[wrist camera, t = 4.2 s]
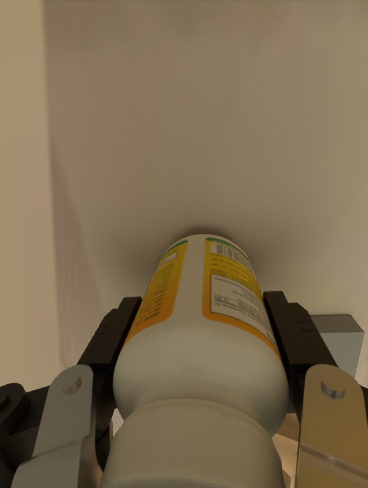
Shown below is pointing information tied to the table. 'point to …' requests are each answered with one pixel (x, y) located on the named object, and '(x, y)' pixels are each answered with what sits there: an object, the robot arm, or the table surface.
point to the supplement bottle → (199, 377)
